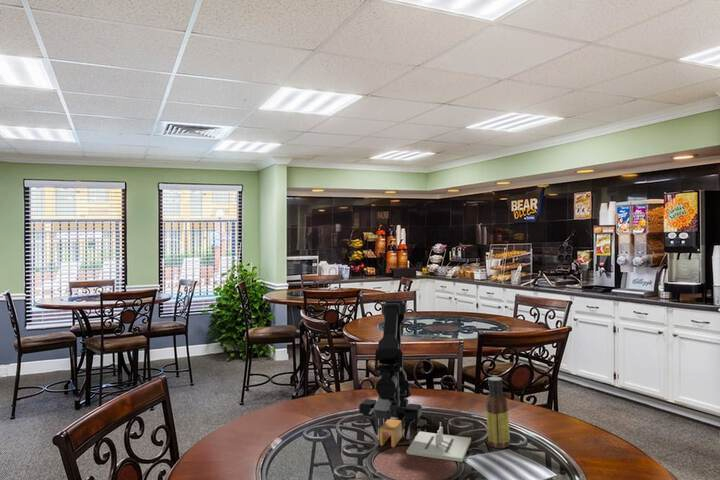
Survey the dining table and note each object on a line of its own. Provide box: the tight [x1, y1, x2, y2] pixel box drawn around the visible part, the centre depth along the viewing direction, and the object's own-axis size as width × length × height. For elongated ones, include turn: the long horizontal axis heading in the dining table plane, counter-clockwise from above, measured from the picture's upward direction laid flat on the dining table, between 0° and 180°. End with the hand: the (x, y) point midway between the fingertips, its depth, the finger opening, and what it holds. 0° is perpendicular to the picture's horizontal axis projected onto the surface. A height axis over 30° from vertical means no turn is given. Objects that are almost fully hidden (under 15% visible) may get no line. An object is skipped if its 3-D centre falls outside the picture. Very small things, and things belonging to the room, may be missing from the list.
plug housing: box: [379, 418, 403, 448], centre depth 155 cm, size 8×4×5 cm, turn 158°
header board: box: [406, 426, 472, 463], centre depth 149 cm, size 16×14×5 cm
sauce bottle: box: [485, 376, 511, 449], centre depth 150 cm, size 7×6×20 cm
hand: (391, 436), depth 155 cm, fingers open, 9 cm apart
